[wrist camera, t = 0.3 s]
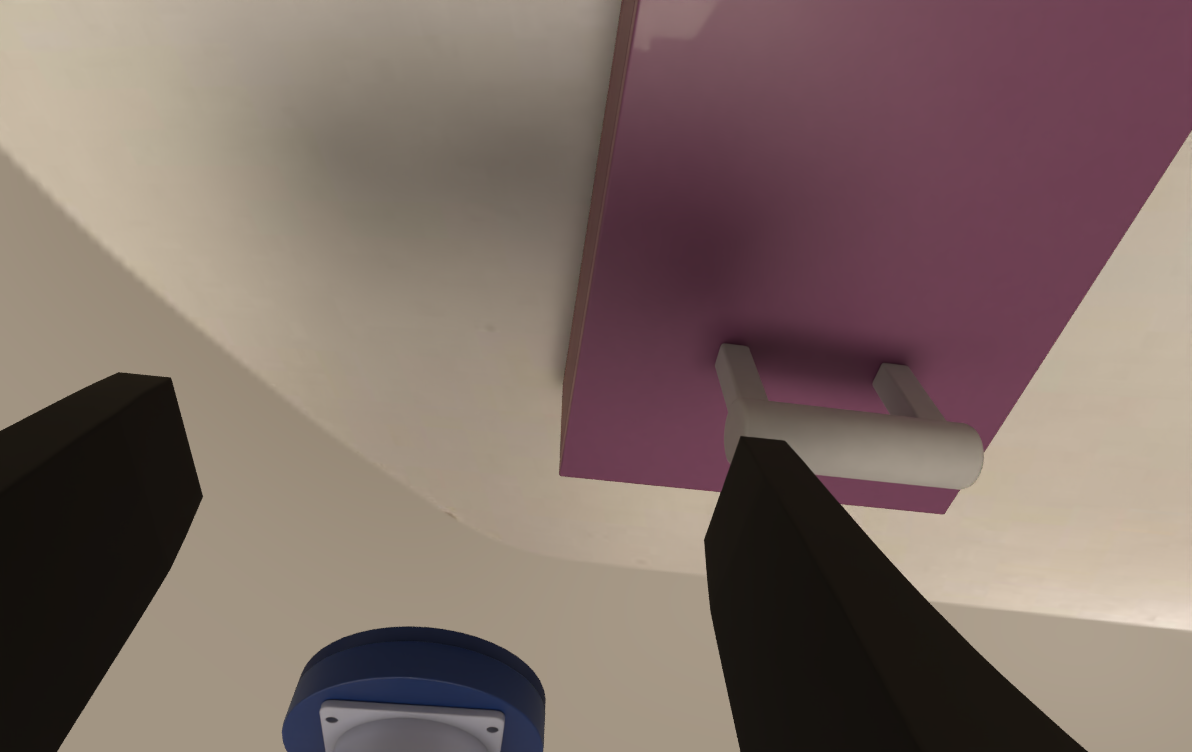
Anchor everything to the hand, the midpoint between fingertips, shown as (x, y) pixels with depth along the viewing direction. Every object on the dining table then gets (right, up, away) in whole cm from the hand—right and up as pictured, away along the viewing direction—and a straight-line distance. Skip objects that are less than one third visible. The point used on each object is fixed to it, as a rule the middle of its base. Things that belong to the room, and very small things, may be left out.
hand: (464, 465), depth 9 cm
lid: (+7, +3, +7) cm, 10 cm away
